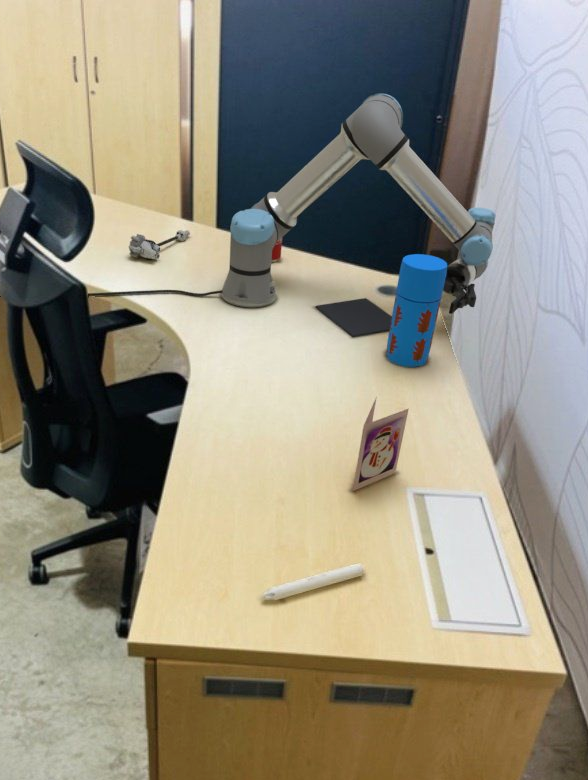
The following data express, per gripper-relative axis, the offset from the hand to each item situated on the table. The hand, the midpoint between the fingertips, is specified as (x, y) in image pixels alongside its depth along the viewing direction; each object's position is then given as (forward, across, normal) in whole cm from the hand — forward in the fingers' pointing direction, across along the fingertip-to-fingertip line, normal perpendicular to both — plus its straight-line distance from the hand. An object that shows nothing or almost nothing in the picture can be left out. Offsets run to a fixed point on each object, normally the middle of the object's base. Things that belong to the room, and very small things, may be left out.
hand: (425, 301), depth 188 cm
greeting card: (+58, -14, -14) cm, 61 cm away
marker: (+92, -22, -14) cm, 95 cm away
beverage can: (-29, +63, -14) cm, 71 cm away
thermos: (+6, 0, -14) cm, 15 cm away
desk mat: (-8, +20, -13) cm, 26 cm away
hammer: (-14, +94, -14) cm, 96 cm away
